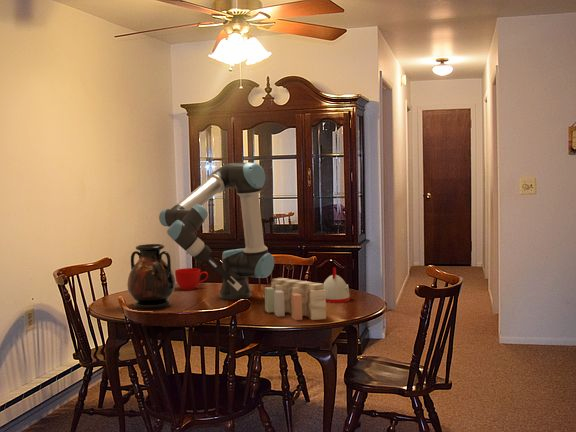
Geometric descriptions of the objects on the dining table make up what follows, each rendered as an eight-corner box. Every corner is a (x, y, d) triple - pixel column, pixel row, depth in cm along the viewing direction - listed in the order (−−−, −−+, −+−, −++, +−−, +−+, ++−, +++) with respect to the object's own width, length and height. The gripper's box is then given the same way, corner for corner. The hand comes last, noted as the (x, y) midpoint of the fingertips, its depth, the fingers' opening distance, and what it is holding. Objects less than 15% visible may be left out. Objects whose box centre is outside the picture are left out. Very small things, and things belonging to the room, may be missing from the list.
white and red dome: (350, 297, 322) (350, 265, 321) (348, 303, 309) (348, 270, 308) (321, 297, 325) (320, 265, 324) (318, 302, 311) (317, 270, 310)
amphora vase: (183, 301, 321) (180, 242, 319) (165, 311, 300) (163, 248, 298) (140, 301, 325) (137, 242, 323) (120, 310, 304) (117, 248, 302)
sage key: (265, 310, 296) (264, 287, 296) (271, 309, 297) (271, 287, 296) (267, 312, 291) (267, 289, 291) (274, 312, 292) (274, 288, 292)
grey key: (274, 314, 288) (274, 290, 287) (281, 313, 289) (280, 290, 288) (277, 316, 283) (277, 292, 283) (284, 316, 284) (284, 292, 283)
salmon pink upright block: (291, 317, 281) (291, 293, 280) (298, 317, 282) (298, 293, 281) (295, 320, 276) (294, 295, 275) (302, 319, 277) (301, 295, 276)
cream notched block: (264, 311, 296) (263, 279, 295) (280, 307, 303) (279, 276, 302) (317, 321, 274) (316, 287, 273) (333, 317, 280) (332, 283, 279)
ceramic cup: (206, 290, 348) (206, 271, 347) (173, 291, 348) (173, 272, 347) (210, 286, 361) (209, 267, 360) (178, 287, 361) (177, 268, 360)
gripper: (190, 255, 288) (230, 292, 293) (194, 259, 276) (236, 297, 281) (203, 242, 289) (242, 279, 294) (207, 245, 276) (248, 284, 282)
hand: (239, 288), depth 288 cm, fingers closed
